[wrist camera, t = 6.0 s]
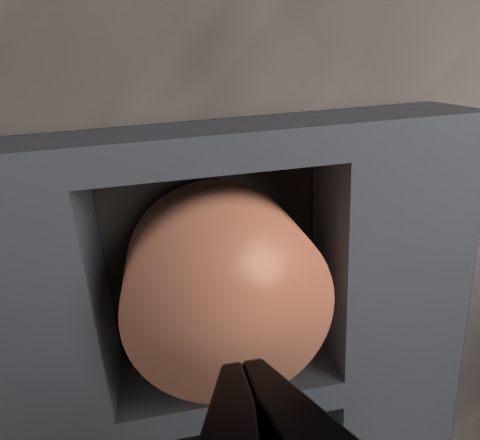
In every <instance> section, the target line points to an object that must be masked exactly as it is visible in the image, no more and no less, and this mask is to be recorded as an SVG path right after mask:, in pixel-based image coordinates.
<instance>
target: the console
mask: <svg viewBox="0 0 480 440" xmlns="http://www.w3.org/2000/svg"><path fill="white" fill-rule="evenodd" d="M305 167H313V244H314V245H315V246H316V248H317V249H318V250H319V252H320V253H321V254H322V256H323V258H324V260H325V262H326V263H327V265H328V268H329V271H330V273H331V276H332V281H333V286H334V297H335V302H334V313H333V317H332V322H331V325H330V328H329V331H328V333H327V336H326V338H325V340H324V342H323V344H322V346H321V347H320V349H319V350H318V352H317V353H316V355H315V356H314V357H313V359H312V360H311V361H310V362H309V363H308V364H307V366H306V367H305V368H304V369H302V370H301V371H300V372H299V373H298V374H297V375H296V376H295V377H293V378H292V379H291V380H289V381H290V382H291V383H292V384H294V385H295V386H296V387H297V388H298V389H300V390H301V391H302V392H303V393H304V394H306V395H307V396H308V397H309V398H310V399H312V400H313V401H314V402H315V403H316V404H318V405H319V406H320V407H321V408H322V409H324V410H325V411H326V412H327V413H328V414H330V415H331V416H332V417H333V418H334V419H336V420H337V421H338V422H339V423H340V424H342V425H343V426H344V427H345V428H347V429H348V430H349V431H350V432H351V433H353V434H354V435H355V436H356V437H357V438H359V439H360V440H450V439H451V432H452V425H453V418H454V411H455V404H456V397H457V390H458V383H459V375H460V368H461V361H462V354H463V347H464V340H465V333H466V326H467V319H468V312H469V305H470V297H471V290H472V283H473V276H474V269H475V262H476V255H477V248H478V241H479V234H480V108H473V107H466V106H459V105H452V104H445V103H438V102H431V101H430V102H418V103H406V104H394V105H381V106H369V107H357V108H345V109H332V110H320V111H308V112H296V113H283V114H271V115H259V116H247V117H234V118H222V119H210V120H198V121H185V122H173V123H161V124H148V125H136V126H124V127H112V128H99V129H87V130H75V131H63V132H50V133H38V134H26V135H14V136H1V137H0V440H177V439H183V438H188V437H193V436H199V435H200V433H201V429H202V426H203V423H204V420H205V417H206V413H207V410H208V407H209V404H202V403H195V402H190V401H186V400H183V399H180V398H177V397H174V396H172V395H170V394H167V393H165V392H163V391H161V390H160V389H158V388H157V387H155V386H154V385H152V384H151V383H150V382H149V381H148V380H146V379H145V378H144V377H143V376H142V375H141V374H140V373H139V372H138V370H137V369H136V368H135V367H134V366H133V364H132V362H131V361H130V359H129V358H126V359H122V355H121V349H120V344H119V338H118V333H117V327H116V321H115V316H114V310H113V305H112V299H111V294H110V288H109V283H108V277H107V272H106V266H105V261H104V255H103V250H102V244H101V239H100V233H99V228H98V222H97V216H96V211H95V205H94V200H93V194H92V189H97V188H107V187H117V186H127V185H137V184H146V183H156V182H166V181H176V180H186V179H196V178H206V177H216V176H226V175H236V174H246V173H255V172H265V171H275V170H285V169H295V168H305Z"/></svg>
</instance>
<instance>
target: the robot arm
mask: <svg viewBox="0 0 480 440" xmlns="http://www.w3.org/2000/svg"><path fill="white" fill-rule="evenodd" d="M198 440H360V439H359V438H357V437H356V436H355V435H354V434H353V433H351V432H350V431H349V430H348V429H347V428H345V427H344V426H343V425H342V424H340V423H339V422H338V421H337V420H336V419H334V418H333V417H332V416H331V415H330V414H328V413H327V412H326V411H325V410H324V409H322V408H321V407H320V406H319V405H318V404H316V403H315V402H314V401H313V400H312V399H310V398H309V397H308V396H307V395H306V394H304V393H303V392H302V391H301V390H300V389H298V388H297V387H296V386H295V385H294V384H292V383H291V382H290V381H289V380H288V379H286V378H285V377H284V376H283V375H282V374H280V373H279V372H278V371H277V370H276V369H274V368H273V367H272V366H271V365H269V364H268V363H267V362H266V361H265V360H263V359H261V358H257V359H251V360H245V361H244V362H243V363H241V362H233V363H227V364H223V365H222V366H221V368H220V372H219V375H218V378H217V381H216V385H215V388H214V391H213V394H212V397H211V401H210V404H209V407H208V410H207V413H206V417H205V420H204V423H203V426H202V429H201V433H200V436H199V439H198Z"/></svg>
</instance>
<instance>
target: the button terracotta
mask: <svg viewBox="0 0 480 440" xmlns="http://www.w3.org/2000/svg"><path fill="white" fill-rule="evenodd" d="M334 302H335V297H334V286H333V281H332V276H331V273H330V271H329V268H328V265H327V263H326V262H325V260H324V258H323V256H322V254H321V253H320V252H319V250H318V249H317V248H316V246H315V245H314V244H313V243H312V242H311V240H310V239H309V238H308V237H307V236H306V235H305V234H304V232H303V231H302V230H301V229H300V228H299V227H298V226H297V224H296V223H295V222H294V221H293V220H292V219H291V217H290V216H289V215H288V214H287V213H286V212H285V211H284V209H283V208H282V207H281V206H280V205H279V204H278V203H277V202H276V201H275V200H274V199H273V198H271V197H270V196H269V195H267V194H266V193H265V192H263V191H261V190H259V189H257V188H255V187H253V186H251V185H248V184H245V183H242V182H238V181H233V180H224V179H210V180H203V181H197V182H193V183H190V184H186V185H184V186H181V187H179V188H177V189H175V190H173V191H171V192H169V193H168V194H166V195H164V196H163V197H162V198H160V199H159V200H158V201H157V202H155V203H154V204H153V205H152V206H151V207H150V208H149V209H148V210H147V211H146V212H145V214H144V215H143V216H142V218H141V219H140V220H139V222H138V224H137V226H136V227H135V229H134V231H133V233H132V236H131V239H130V242H129V246H128V250H127V256H126V262H125V269H124V276H123V282H122V289H121V296H120V302H119V313H118V323H119V333H120V337H121V341H122V344H123V347H124V349H125V351H126V354H127V356H128V358H129V359H130V361H131V362H132V364H133V366H134V367H135V368H136V369H137V370H138V372H139V373H140V374H141V375H142V376H143V377H144V378H145V379H146V380H148V381H149V382H150V383H151V384H152V385H154V386H155V387H157V388H158V389H160V390H161V391H163V392H165V393H167V394H170V395H172V396H174V397H177V398H180V399H183V400H186V401H190V402H195V403H202V404H210V401H211V397H212V394H213V391H214V388H215V385H216V381H217V378H218V375H219V372H220V368H221V366H222V365H223V364H227V363H233V362H241V363H243V362H244V361H245V360H251V359H257V358H261V359H263V360H265V361H266V362H267V363H268V364H269V365H271V366H272V367H273V368H274V369H276V370H277V371H278V372H279V373H280V374H282V375H283V376H284V377H285V378H286V379H288V380H291V379H292V378H293V377H295V376H296V375H297V374H298V373H299V372H300V371H301V370H302V369H304V368H305V367H306V366H307V364H308V363H309V362H310V361H311V360H312V359H313V357H314V356H315V355H316V353H317V352H318V350H319V349H320V347H321V346H322V344H323V342H324V340H325V338H326V336H327V333H328V331H329V328H330V325H331V322H332V317H333V313H334Z"/></svg>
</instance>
